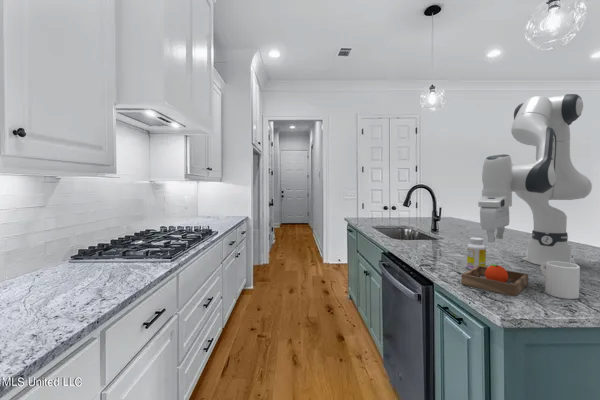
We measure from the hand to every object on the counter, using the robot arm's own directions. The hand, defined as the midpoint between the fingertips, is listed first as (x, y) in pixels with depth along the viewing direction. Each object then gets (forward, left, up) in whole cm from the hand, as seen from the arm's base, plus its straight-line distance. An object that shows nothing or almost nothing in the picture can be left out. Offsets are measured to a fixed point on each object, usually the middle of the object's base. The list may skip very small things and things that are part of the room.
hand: (495, 240), depth 105 cm
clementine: (0, 0, -16) cm, 16 cm away
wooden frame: (0, 0, -16) cm, 16 cm away
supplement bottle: (-16, -11, -16) cm, 25 cm away
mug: (-5, +16, -16) cm, 23 cm away
